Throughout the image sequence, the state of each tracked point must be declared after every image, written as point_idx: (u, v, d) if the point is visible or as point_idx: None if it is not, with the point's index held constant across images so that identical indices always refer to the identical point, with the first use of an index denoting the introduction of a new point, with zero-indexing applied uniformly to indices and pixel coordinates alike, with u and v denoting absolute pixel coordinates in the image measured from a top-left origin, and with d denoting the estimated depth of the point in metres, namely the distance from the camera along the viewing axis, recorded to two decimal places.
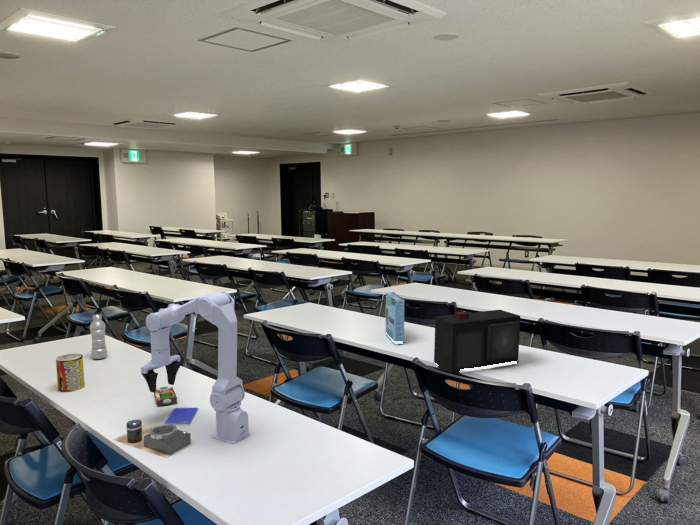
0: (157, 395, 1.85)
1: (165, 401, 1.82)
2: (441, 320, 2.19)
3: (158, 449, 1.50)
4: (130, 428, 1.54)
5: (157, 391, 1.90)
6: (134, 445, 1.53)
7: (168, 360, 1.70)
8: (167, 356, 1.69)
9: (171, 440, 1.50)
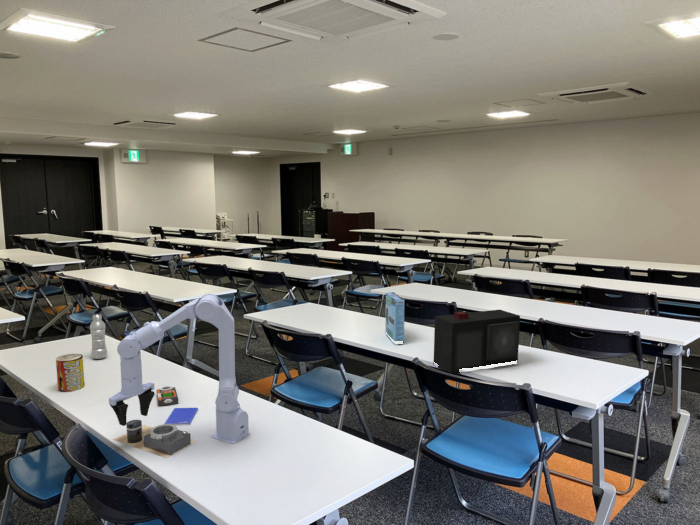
0: (159, 395, 1.85)
1: (166, 401, 1.82)
2: (440, 320, 2.20)
3: (158, 449, 1.50)
4: (130, 428, 1.54)
5: (159, 391, 1.91)
6: (134, 445, 1.53)
7: (140, 389, 1.54)
8: (138, 385, 1.53)
9: (171, 440, 1.50)
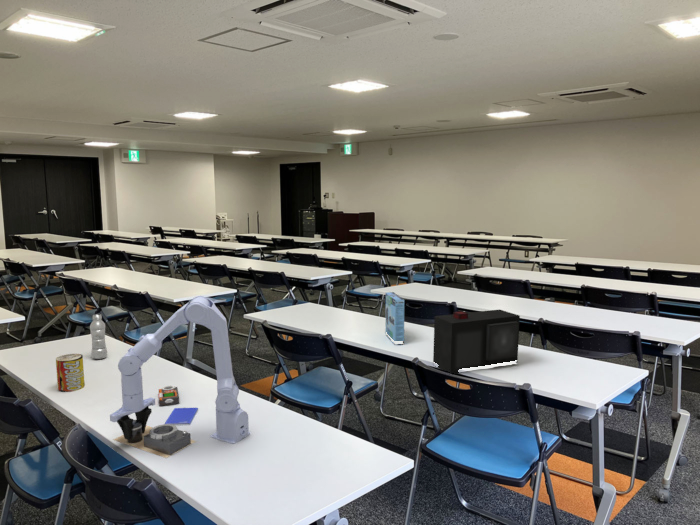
0: (160, 394, 1.85)
1: (167, 401, 1.82)
2: (440, 320, 2.20)
3: (158, 449, 1.50)
4: None
5: (161, 390, 1.91)
6: (134, 445, 1.53)
7: (141, 405, 1.54)
8: (139, 402, 1.54)
9: (171, 440, 1.50)
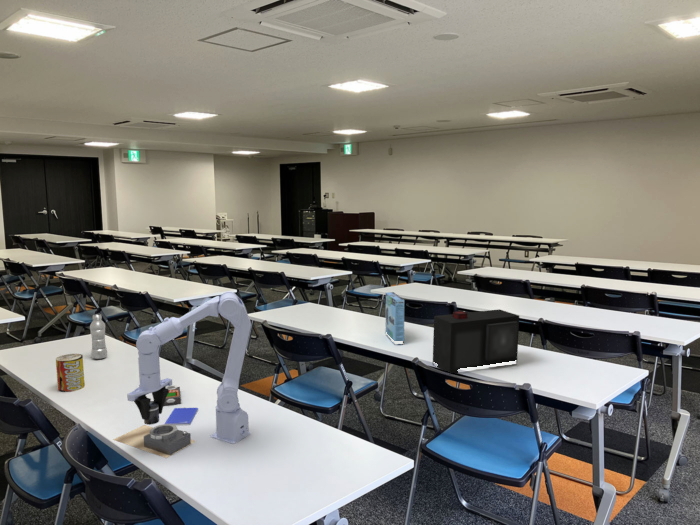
0: None
1: (169, 401, 1.82)
2: (440, 319, 2.20)
3: (158, 449, 1.50)
4: None
5: None
6: (134, 445, 1.53)
7: (158, 385, 1.52)
8: (157, 381, 1.51)
9: (171, 440, 1.50)
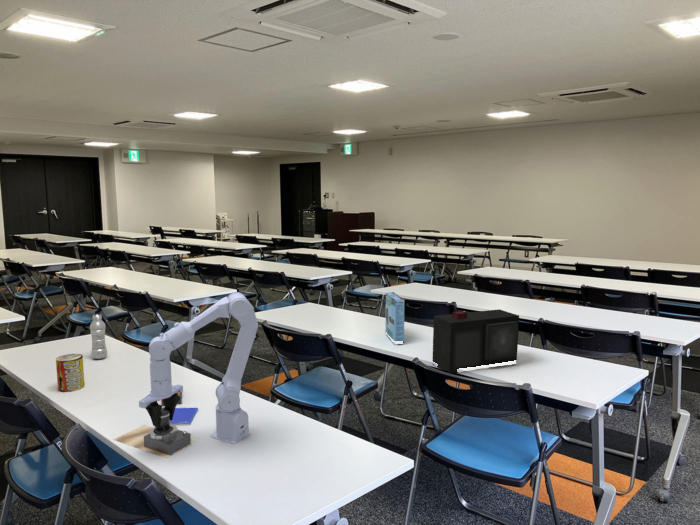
0: None
1: None
2: (439, 319, 2.21)
3: (158, 449, 1.50)
4: None
5: None
6: (134, 445, 1.53)
7: (170, 392, 1.51)
8: (168, 388, 1.51)
9: (171, 440, 1.50)
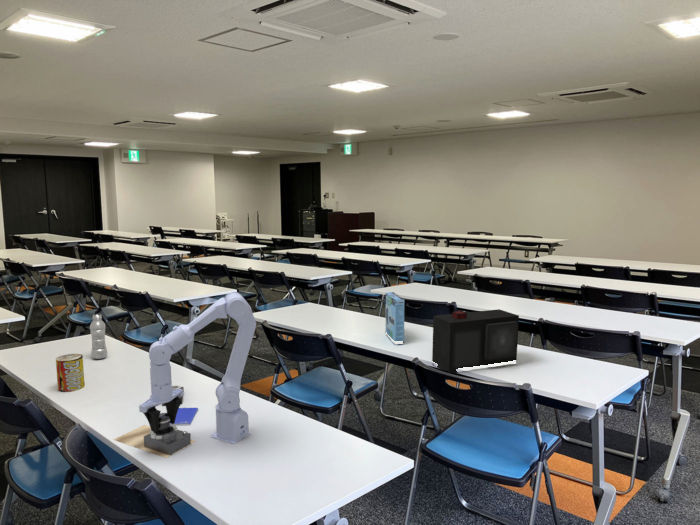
0: None
1: None
2: (439, 319, 2.21)
3: (158, 449, 1.50)
4: (159, 421, 1.51)
5: None
6: (134, 445, 1.53)
7: (170, 396, 1.51)
8: (168, 392, 1.51)
9: (171, 440, 1.50)
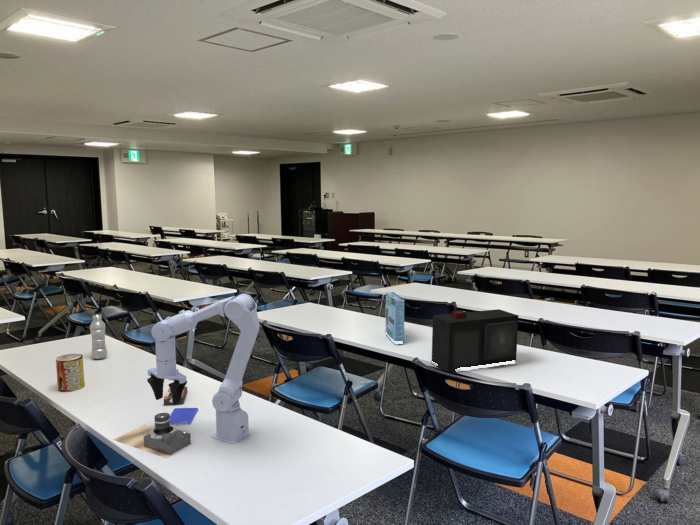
0: (167, 393, 1.86)
1: (171, 401, 1.82)
2: (438, 319, 2.21)
3: (158, 449, 1.50)
4: (158, 421, 1.51)
5: None
6: (134, 445, 1.53)
7: (161, 374, 1.58)
8: (159, 369, 1.58)
9: (171, 440, 1.50)
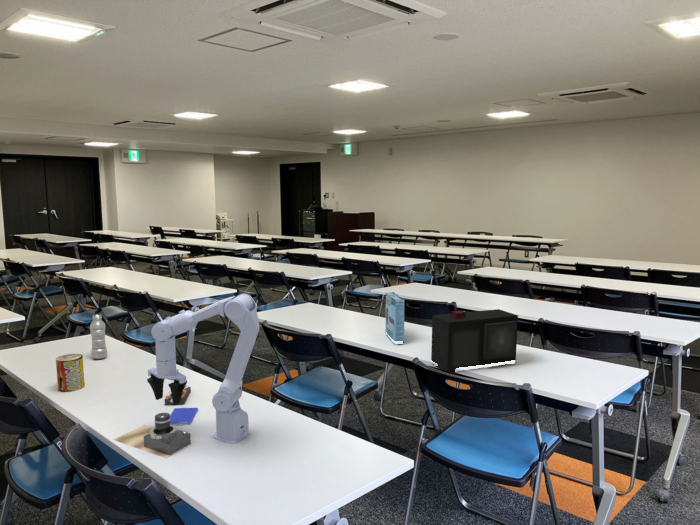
0: (168, 393, 1.87)
1: (172, 401, 1.83)
2: (438, 319, 2.21)
3: (158, 449, 1.50)
4: (159, 421, 1.51)
5: None
6: (134, 445, 1.53)
7: (161, 374, 1.58)
8: (159, 369, 1.58)
9: (171, 440, 1.50)
